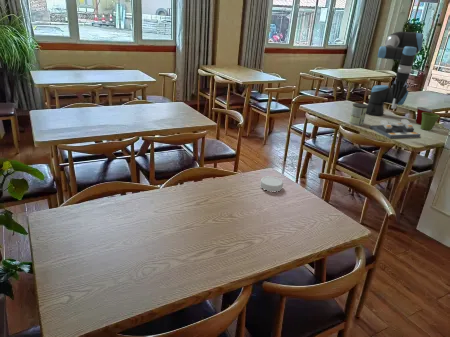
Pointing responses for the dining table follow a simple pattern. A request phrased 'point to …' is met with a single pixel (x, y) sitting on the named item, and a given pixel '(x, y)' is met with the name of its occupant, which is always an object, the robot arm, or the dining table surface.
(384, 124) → the switch
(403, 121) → the switch
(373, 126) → the switch panel
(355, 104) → the coffee can
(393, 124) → the switch middle
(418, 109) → the plastic cup
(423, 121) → the plant pot
